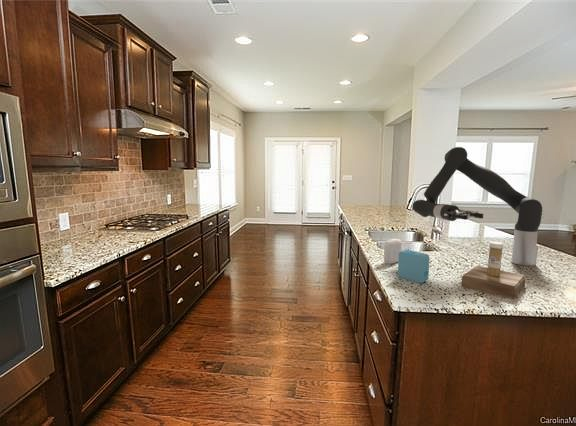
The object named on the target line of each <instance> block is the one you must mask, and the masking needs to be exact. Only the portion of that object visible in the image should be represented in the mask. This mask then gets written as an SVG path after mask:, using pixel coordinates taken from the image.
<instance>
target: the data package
mask: <svg viewBox="0 0 576 426" xmlns="http://www.w3.org/2000/svg"><path fill="white" fill-rule="evenodd" d="M429 270H430V256H429V254H427V253H422V252H419V251H414V250H409V249H405V250H401V252H399V256H398V262H397V276H398V277H399V278H400V279H401V278H402V279H406V280H408V281H411V282H415V283H419V284H423V283H425V282H427V281H428V280H429V274H430V271H429Z"/></svg>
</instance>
